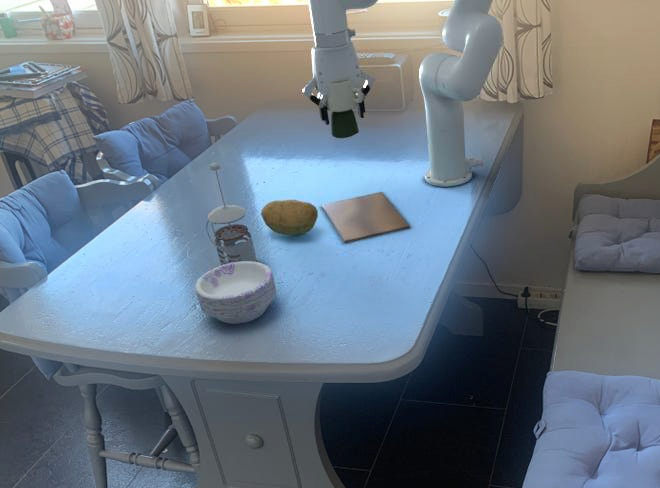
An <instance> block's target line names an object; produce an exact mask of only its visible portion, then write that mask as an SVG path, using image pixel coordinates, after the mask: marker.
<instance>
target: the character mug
mask: <svg viewBox="0 0 660 488" xmlns="http://www.w3.org/2000/svg"><path fill="white" fill-rule="evenodd" d="M328 89H329V95H327V100H326V102H325V106H326V107H327V111H328V112H331V114H330V128H331V129H330V130H331V136H332V137H334V138H336V139H346V138H350V137H353V136H355V135H357V134H358V133H360V131H359V126H358V122H357V118H356V115H355V112H354V110H353V108H355V107H356V103H361V102H362V93H361V89H362V88H353V83H352V80H348V81H346V82H342V83H334V84H328ZM355 92H357V94H358V98H356V97H357V95H356V93H355ZM318 95H319V91H317V96H318Z"/></svg>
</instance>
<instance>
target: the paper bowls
mask: <svg viewBox="0 0 660 488" xmlns="http://www.w3.org/2000/svg"><path fill="white" fill-rule="evenodd" d="M194 289H195V293H196V297H197V300H198V303H199V306H200V309H201V311H202V313H203V314H205V315H206V316H208V317H210V318H214V319H217V320H219V321H220V322H222V323H226V324H230V325H236V324H237V325H239V324H245V323H249V322H251V321H254V320H256V319H258V318H259V317H261V316H262V315H263V314H264V313H265V312H266V311H267V309H268V306H270V305H271V304H272V303H273V302H274V301H275V298H276V297H277V288H276V284H275V279H274V274H273V271H272V269H271V268H270V267H269V266H268V265H266V264H264V263H262V262H260V261H257V262H253V261H241V262H233V263H228V264H227V263H226V264H225V265H221V264H220V265H218V266H216V267H214V268H212V269H209V270H208V271H206V272H205V273H203V274H202V275H201V276H200V277H199V278H198V279H197V280H196V283H195V286H194Z"/></svg>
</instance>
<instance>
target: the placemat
mask: <svg viewBox="0 0 660 488" xmlns="http://www.w3.org/2000/svg"><path fill="white" fill-rule="evenodd" d="M321 208H322V209H323V211H324V212H325V214H326V215H327V217H328V218H329V220H330V222H331V223H332V225H333V227H334V228H335V230H336V232H337V233H338V234H339V236H340V237H341V239H342V241H343V243H345V244H347V243H350V242H351V243H352V242H356V241H360V240H364V239H368V238H372V237H373V238H374V237H376V236H377V237H378V236H381V235H386V234H390V233H394V232H398V231H399V232H400V231H402V230H407V229H411V226H410V224H409V223H408V221H406V219H405V218H404V217H403V216H402V215H401V213H400V212H399V211H398V210H397V209H396V207H395V206H394V205H393V203H391V201H390V200H389V199H388V197H387V196H386V195H385V194H384V193H383V192H382V191H380V192H375V193H370V194H366V195H365V194H364V195H360V196H356V197H352V198H347V199H343V200H338V201H333V202H329V203H324V204H321Z"/></svg>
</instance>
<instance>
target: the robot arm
mask: <svg viewBox="0 0 660 488" xmlns="http://www.w3.org/2000/svg"><path fill="white" fill-rule="evenodd" d="M493 1H494V0H454V1H453V3H452V6H451V8H450V10H449V12H448V15H447V18H446V20H445V21H444V24H443V28H442V31H441V39H442V42H443V44H444V46H445V47H447V48H448V49H450V50H452V51H454V52H458V53H461V56H458V55H455V54H451V53H447V52H442V51H438V52H437V51H436V52H432V53H429V54H428V55H426V56H425V57H424V58H423V60H422V61H421V63H420V66H419V70H418V79H419V85H420V88H421V92H422V96H423V101H424V109H425V118H426V119H425V121H426V132H427V146H428V160H429V161H428V162H429V169H427V170H426V172H425V173H424V181H425V182H426V183H427V184H429V185H432V186H435V187H442V188H443V187H444V188H445V187H447V188H449V187H457V186H460V185H463V184H466V183H467V182H469V181H470V180H471V179H472V178H473V168H475V167H476V168H477V167H482V166H484V159H483V158H482V157H481V158H475V157H474V156H472V157H469V158H468V157H466V139H465V113H464V107H463V102H470V101H472V100H475V98H476V97H478V95H479V94H480V93H481V91H482V90H483V88H484V86H485V84H486V81H487V79H488V78H489V75H490V73H491V70H492V68H493V66H494V64H495V62H496V60H497V57H498V55H499V53H500V50H501V47H502V43H503V28H502V24H501V22H500V21H499V19H497V17H495V16H494V15H491V14H490V13H489V12H490V9H491V7H492V4H493ZM307 2H308V8H309V13H310V14H309V15H310V22H311V27H312V32H313V40H314V46H313V45H312V47H311V65H312V67H311V68H312V78H311V80H309V82H308V83H307V84H306V85H305V86H304V87H303V88H302V93H303V94H304V95H305V96H306V97H307V98H308V99H309V100H310V101H311V102H312V103H314V104H315V105H316V106H317V107H318V111H319V116H320V120H321V122H323V123H324V124H325V125H326V126H328V125H330V118H329V110H327V107H326V105H325V102H326V100H327V95H329V89H328V84H334V83H342V82H346V81H348V80H352V83H353V88H360V89H361V93H362V102H361V103H356V105H355V107H356V113H357V116H358V117H359V118H361V119H364V118H365V114H366V105H365V100H366V96H367V95H368V94H369V93H370V91H371V88H372V87H373V84H374V83H375V80H376V79H375V78H374V77H373V76H372V75H370V74H368V73H366V72H365V71H363V70H361V69H360V63H359V60H358V56H357V55H358V54H357V51H356V48H355V45H354V42H353V41H352V40H351V39H352V38H353V37H356V34H357V33H356V30H355V29H351V28H349V25H348V18H347V17H348V16H347V11H348V10H362V9H363V10H364V9H368V8H370V7H373V6H374V5H375V4H377V3H378V2H379V0H308V1H307ZM363 79H364V80H365V83H364V84H363ZM313 89H315V90H316V91H317V92H318V91H319V95H318V94H317V96H316V95H315V94H313V93H312V90H313ZM355 93H356V98H358V94H357V92H355Z"/></svg>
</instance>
